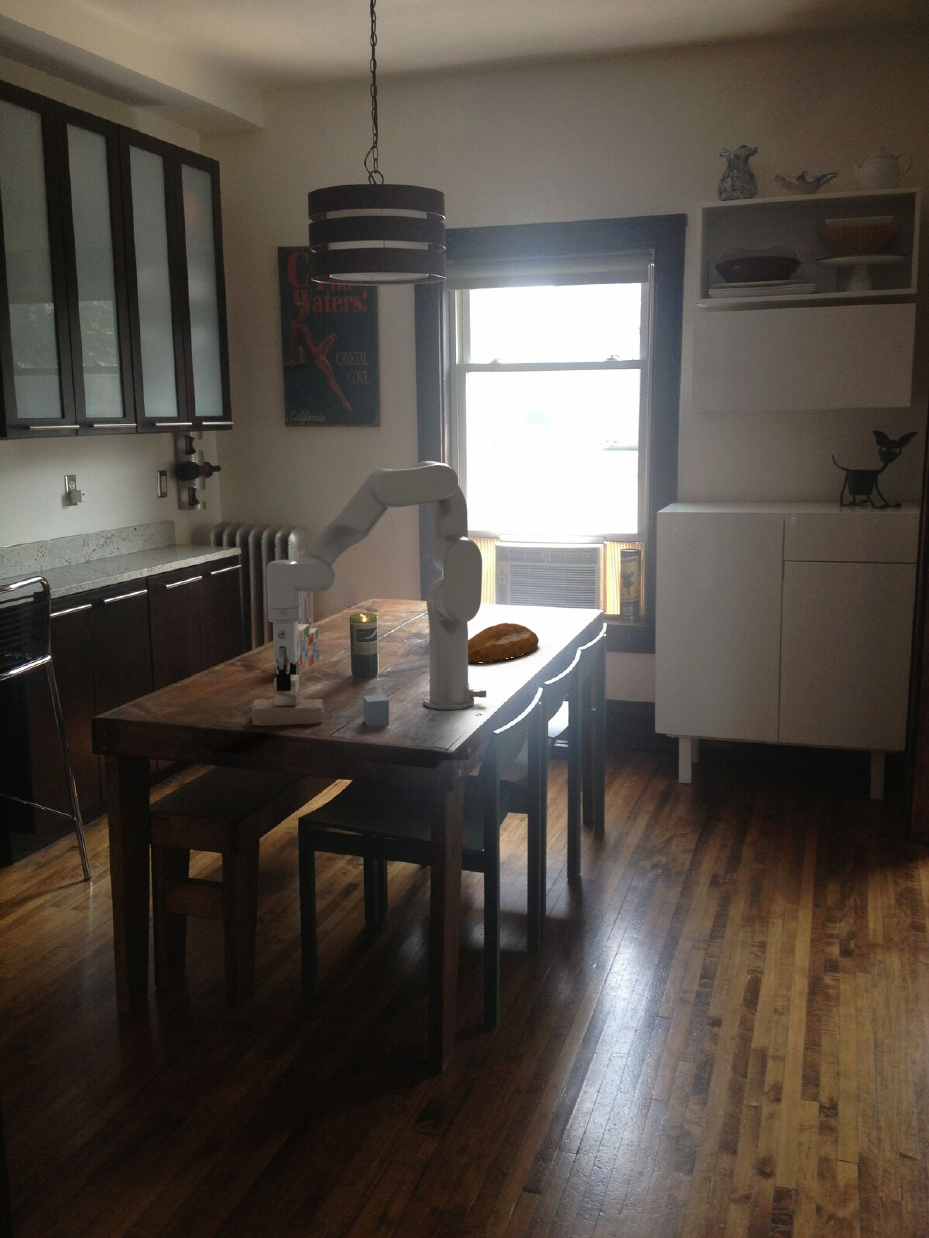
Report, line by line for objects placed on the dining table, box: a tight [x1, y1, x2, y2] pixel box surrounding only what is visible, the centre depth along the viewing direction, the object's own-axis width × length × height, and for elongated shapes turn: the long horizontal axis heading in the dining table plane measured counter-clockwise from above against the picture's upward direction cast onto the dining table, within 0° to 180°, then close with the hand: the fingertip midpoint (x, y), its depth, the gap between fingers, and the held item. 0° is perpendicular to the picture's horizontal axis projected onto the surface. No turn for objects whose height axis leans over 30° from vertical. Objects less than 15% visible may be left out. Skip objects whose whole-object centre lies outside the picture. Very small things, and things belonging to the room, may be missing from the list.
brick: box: [251, 698, 325, 727], centre depth 259 cm, size 17×8×5 cm, turn 97°
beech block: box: [273, 675, 301, 705], centre depth 258 cm, size 5×5×6 cm
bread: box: [468, 622, 540, 664], centre depth 327 cm, size 18×35×9 cm, turn 145°
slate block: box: [362, 694, 390, 728], centre depth 256 cm, size 5×5×6 cm
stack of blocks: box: [295, 623, 320, 677], centre depth 309 cm, size 21×6×12 cm, turn 172°
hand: (286, 685), depth 258 cm, fingers open, 9 cm apart
